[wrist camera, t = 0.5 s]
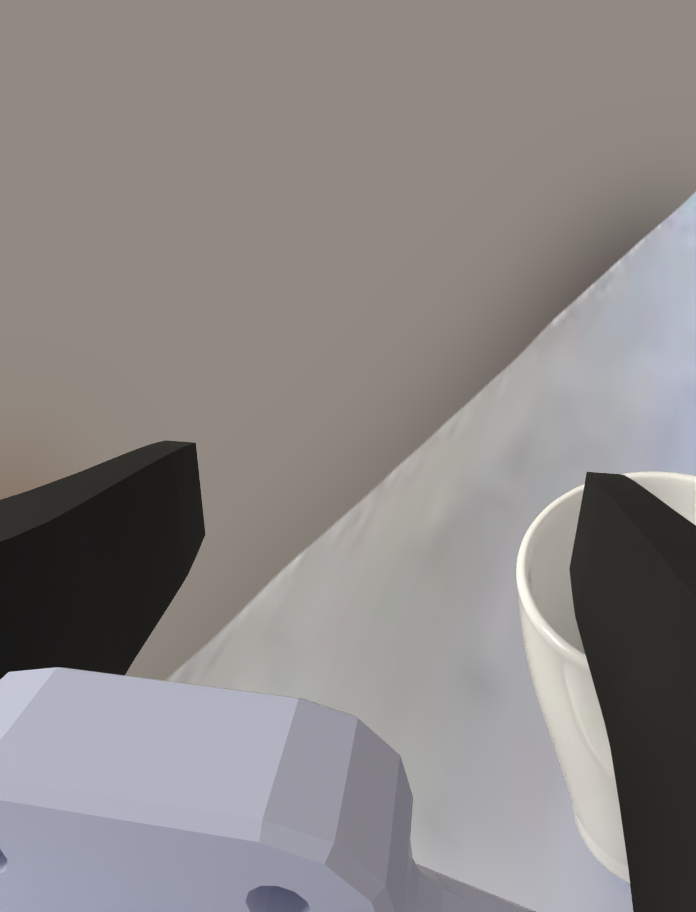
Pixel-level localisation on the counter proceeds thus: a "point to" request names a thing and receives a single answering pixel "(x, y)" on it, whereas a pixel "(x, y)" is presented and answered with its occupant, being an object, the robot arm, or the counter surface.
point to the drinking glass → (577, 662)
